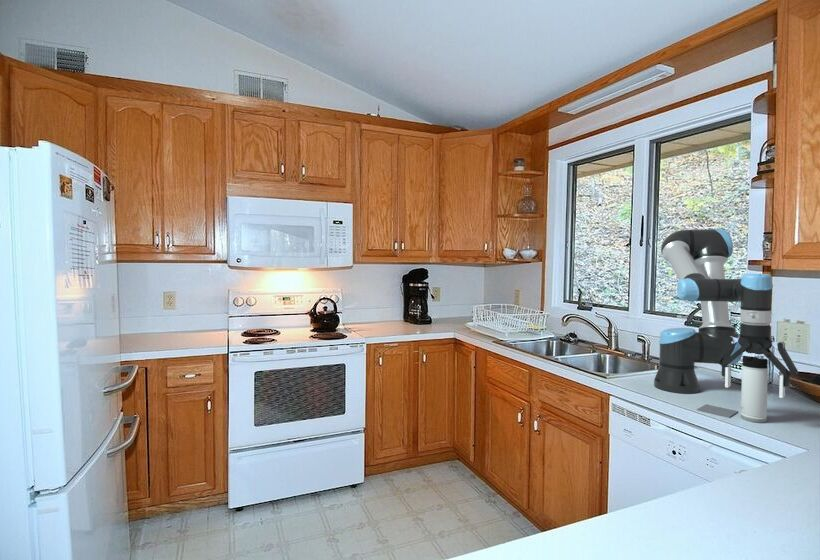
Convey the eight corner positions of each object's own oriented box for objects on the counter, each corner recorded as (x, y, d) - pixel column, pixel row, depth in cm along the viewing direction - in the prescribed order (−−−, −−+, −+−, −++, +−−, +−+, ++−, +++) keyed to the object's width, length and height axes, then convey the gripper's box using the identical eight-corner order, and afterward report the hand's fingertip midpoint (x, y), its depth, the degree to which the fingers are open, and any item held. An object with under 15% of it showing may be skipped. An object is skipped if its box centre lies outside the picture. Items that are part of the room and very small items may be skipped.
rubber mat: (706, 405, 148) (706, 404, 148) (737, 412, 141) (737, 411, 141) (697, 410, 143) (697, 409, 143) (729, 417, 136) (729, 416, 136)
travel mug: (735, 417, 136) (736, 354, 136) (749, 414, 139) (750, 353, 138) (757, 424, 131) (758, 358, 130) (771, 421, 133) (773, 356, 132)
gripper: (704, 320, 141) (703, 384, 142) (806, 329, 121) (804, 404, 122) (713, 318, 146) (711, 381, 147) (812, 327, 126) (810, 399, 127)
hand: (753, 391), depth 134 cm, fingers open, 13 cm apart
